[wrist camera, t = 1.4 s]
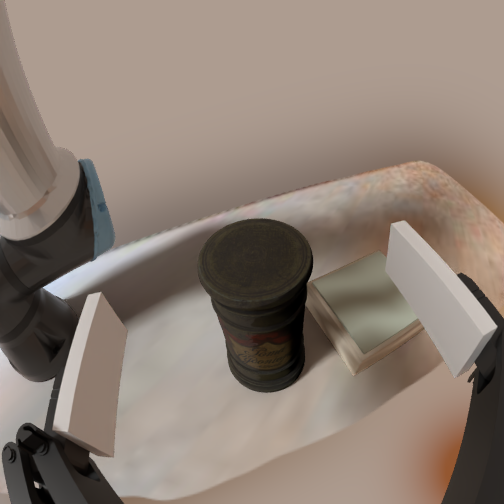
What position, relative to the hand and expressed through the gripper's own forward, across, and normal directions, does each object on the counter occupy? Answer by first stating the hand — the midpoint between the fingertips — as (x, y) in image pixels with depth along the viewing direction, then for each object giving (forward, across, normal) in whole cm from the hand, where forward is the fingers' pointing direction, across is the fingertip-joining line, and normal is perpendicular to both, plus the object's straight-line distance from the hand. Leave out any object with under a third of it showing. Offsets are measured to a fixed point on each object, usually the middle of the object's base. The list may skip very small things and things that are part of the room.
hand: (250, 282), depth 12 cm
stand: (+12, +13, -22) cm, 29 cm away
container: (+10, -1, -22) cm, 24 cm away
